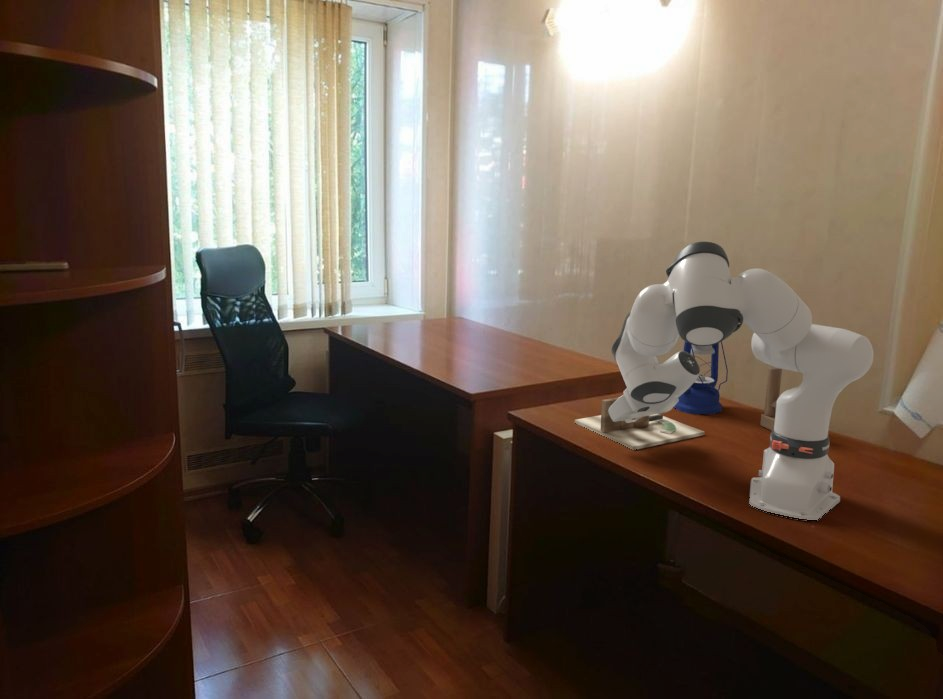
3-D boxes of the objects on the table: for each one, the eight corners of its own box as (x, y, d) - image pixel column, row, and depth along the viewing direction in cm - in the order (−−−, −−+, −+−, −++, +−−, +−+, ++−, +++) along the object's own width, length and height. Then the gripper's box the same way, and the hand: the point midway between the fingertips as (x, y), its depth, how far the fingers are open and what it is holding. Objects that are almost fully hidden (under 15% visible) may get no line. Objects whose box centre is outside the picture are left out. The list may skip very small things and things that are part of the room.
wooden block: (784, 437, 199) (791, 375, 195) (759, 425, 209) (765, 366, 206) (795, 436, 200) (802, 374, 196) (770, 424, 210) (775, 365, 207)
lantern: (695, 397, 238) (702, 309, 231) (734, 409, 225) (742, 316, 219) (660, 406, 229) (665, 314, 222) (698, 418, 216) (705, 321, 210)
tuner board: (633, 450, 189) (633, 445, 189) (574, 423, 211) (574, 418, 211) (704, 435, 201) (704, 430, 201) (641, 410, 223) (641, 406, 223)
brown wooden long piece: (609, 434, 197) (610, 403, 195) (595, 428, 202) (596, 398, 200) (668, 422, 207) (670, 393, 206) (654, 417, 213) (656, 388, 211)
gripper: (679, 379, 192) (652, 405, 203) (620, 389, 183) (595, 415, 193) (690, 399, 190) (662, 424, 200) (631, 410, 180) (605, 435, 191)
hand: (629, 420), depth 197 cm, fingers closed
